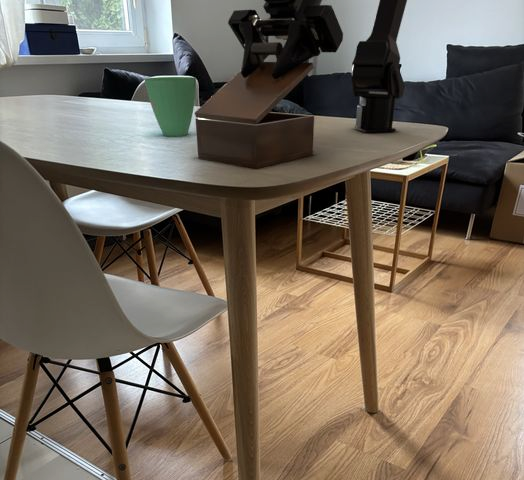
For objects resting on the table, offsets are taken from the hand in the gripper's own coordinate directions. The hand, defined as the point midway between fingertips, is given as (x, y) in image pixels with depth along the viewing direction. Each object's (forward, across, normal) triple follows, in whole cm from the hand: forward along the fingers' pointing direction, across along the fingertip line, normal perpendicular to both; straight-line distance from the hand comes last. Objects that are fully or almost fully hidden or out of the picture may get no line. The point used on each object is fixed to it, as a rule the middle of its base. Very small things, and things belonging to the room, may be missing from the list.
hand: (257, 76), depth 76 cm
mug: (+3, -30, +14) cm, 34 cm away
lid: (+2, 0, +1) cm, 2 cm away
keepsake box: (+8, 0, +8) cm, 11 cm away
